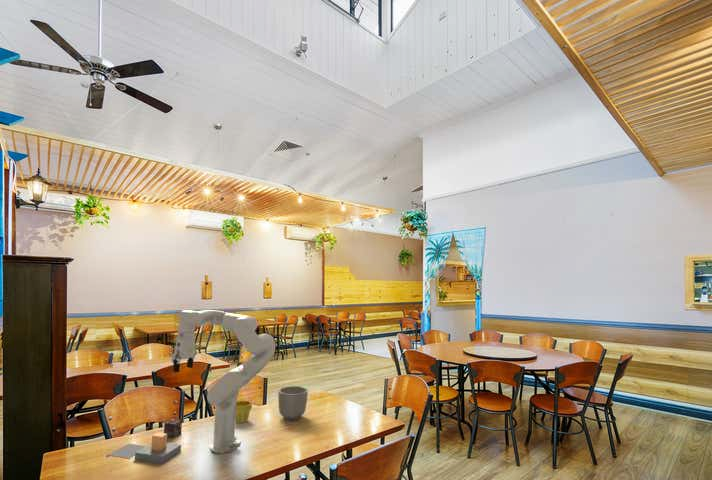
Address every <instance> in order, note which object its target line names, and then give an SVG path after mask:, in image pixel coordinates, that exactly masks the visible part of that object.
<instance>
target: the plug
mask: <svg viewBox="0 0 712 480" xmlns="http://www.w3.org/2000/svg"><path fill="white" fill-rule="evenodd" d="M151 443H152V446H151V450H155V451H162V450H164V449H165V448H166V445H167V443H168V438H167V434H165V433H164V432H156V433H154V434H152V436H151Z"/></svg>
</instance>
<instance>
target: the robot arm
mask: <svg viewBox="0 0 712 480" xmlns="http://www.w3.org/2000/svg"><path fill="white" fill-rule="evenodd" d="M207 325H212V326H220V327H221V329H222V330H224V331H228V332H233V334H234V335H235V337H236V338H237V339H238V341H239V342H240V343H241V345H242V346H243V347H244V350H246V351H247V352H248V353H249V354H251V356H249V357H248V358H247V359H246V360H245V361H244V362H243V363H241V364H240V365H238V366H236V367H235V368H232V369H230V370H229V371H228V372H226V373H225V374H224V375H223V376H222V377H221V378H220V379H218V380H217V381H216V382H215V383H214V384H213V385H212V386H211V387H210V388H209V390H208V391H207V395H206V399H207V402H208V404H209V405H211V406H212V407H215V411H214V412H215V414H214V426H213V427H214V428H213V429H214V430H213V440H212V441H213V442H212V443H210V445H209V451H211V452H212V453H214V454H225V453H230V452H232V451H234V450H236V449H237V447H238V448H240V447H241V443H242V440H240V439H239V440H238V439H237V436H236V435H235V433H236V432H235V430H236V421H235V417H236V404H237V401H238V397H239V392H240V391H239V390H240V389H242V388H243V387H245V386H247V385H248V384H249V383H250V382H251V380H252V379H254V378H255V377H256V376H257V375H258V374H259V373H260V372H261V371H262V370H263V369H264V368H265V367H266V366H267V365H268V364H269V363H270V362H271V360H272V359H273V357H274V354H275V352H276V342H275V338H274V337H273V335H271V334H269V333H261V334H260V333H259V334H257V333H256V330H257V328H258V321H257V319H256V318H255V317H254V316H251V315H246V314H245V315H243V314H236V313H230V312H225V311H222V310H213V309H203V310H198V311H197V310H191V309H184V310H181V311H180V312H179V319H178V328H177V329H178V330H177V339H176V342H175V346H174V347H175V348H174V353H173V354H171V355H170V359H171V362H172V364H173V368H172V372H173V373H179V372H180V368H181V367H180V366H181V364H180V362H181V361H182V360H187V361H186V368H189V369H192V368H193V367H194V360H195V357H196V354H197V351H198V350H197V349H196V338H195V327H203V326H207Z"/></svg>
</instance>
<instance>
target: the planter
mask: <svg viewBox="0 0 712 480" xmlns="http://www.w3.org/2000/svg"><path fill="white" fill-rule="evenodd" d="M308 395H309V391H308V389H307V388H306V387H304V386H300V385H299V386H298V385H291V386H283V387H280V389H278V394H277V396H278V397H277V398H278V400H277V401H278V411H279V414H280V415H281V416H282V417H283V418H284V420H285V419H286V420H285V421H287V420H289V421H288V422H295V421H299V420H300V418H301V417H302V416H303V415H304V414H305V412H306V409H307V404H308V402H307V401H308ZM294 420H295V421H294Z"/></svg>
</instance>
